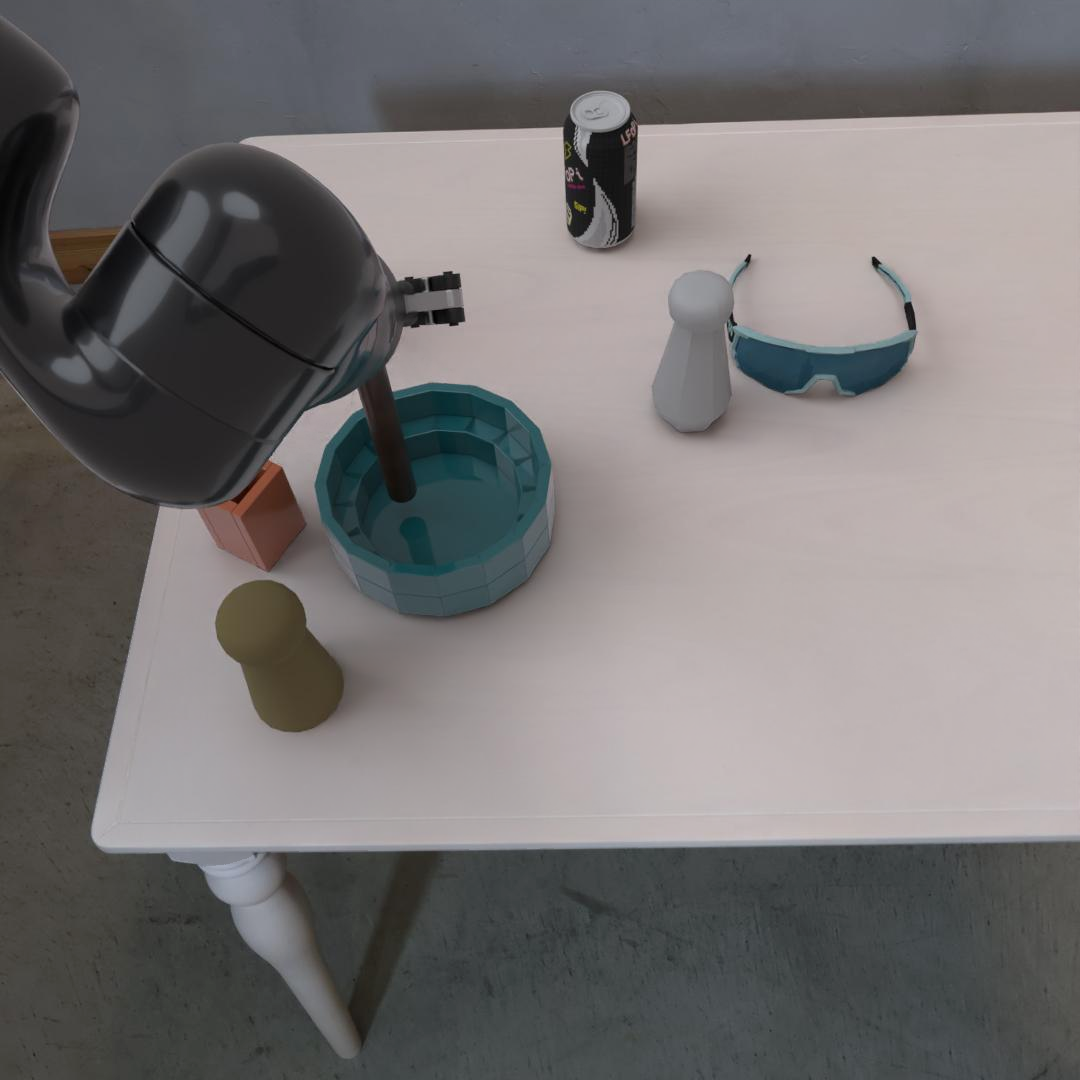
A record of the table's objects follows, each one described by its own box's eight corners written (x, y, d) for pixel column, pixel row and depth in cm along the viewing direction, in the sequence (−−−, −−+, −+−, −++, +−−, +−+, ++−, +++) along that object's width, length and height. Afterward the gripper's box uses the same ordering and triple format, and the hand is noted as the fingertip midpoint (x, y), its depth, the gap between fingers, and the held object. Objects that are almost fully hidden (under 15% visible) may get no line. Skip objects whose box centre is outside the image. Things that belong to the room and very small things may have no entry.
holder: (216, 546, 80) (185, 490, 74) (256, 498, 82) (228, 440, 76) (268, 572, 79) (240, 517, 73) (306, 523, 81) (282, 466, 75)
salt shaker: (645, 437, 83) (651, 314, 72) (655, 378, 86) (662, 251, 75) (725, 446, 82) (743, 323, 71) (732, 386, 85) (750, 259, 74)
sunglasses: (724, 400, 84) (730, 349, 80) (721, 277, 94) (726, 225, 90) (917, 406, 83) (932, 354, 79) (894, 280, 93) (907, 228, 89)
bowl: (291, 561, 79) (269, 514, 74) (412, 406, 86) (400, 353, 81) (480, 657, 74) (470, 613, 69) (593, 484, 81) (591, 434, 76)
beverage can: (556, 219, 96) (550, 97, 86) (617, 199, 97) (618, 76, 87) (583, 263, 93) (580, 142, 83) (646, 241, 94) (651, 119, 84)
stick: (382, 496, 78) (319, 288, 61) (398, 475, 79) (341, 264, 62) (406, 507, 77) (350, 300, 60) (422, 486, 78) (371, 276, 61)
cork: (309, 748, 71) (264, 674, 62) (233, 706, 73) (179, 628, 64) (362, 671, 74) (326, 589, 65) (287, 633, 76) (242, 548, 67)
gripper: (456, 208, 48) (469, 228, 65) (134, 242, 48) (230, 254, 65) (476, 384, 50) (483, 359, 67) (165, 418, 50) (251, 384, 67)
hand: (358, 307), depth 66 cm, fingers closed on stick, 2 cm apart
